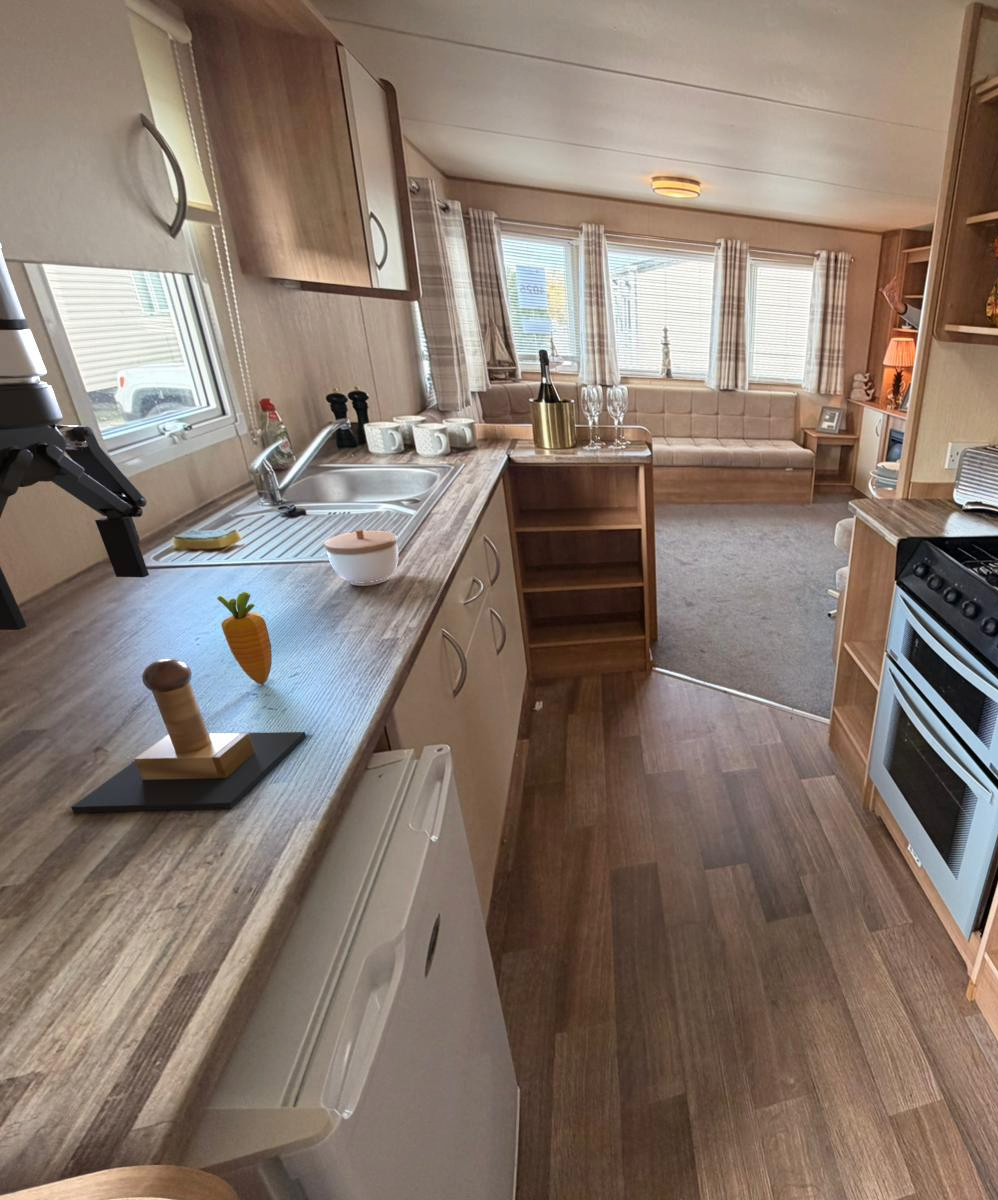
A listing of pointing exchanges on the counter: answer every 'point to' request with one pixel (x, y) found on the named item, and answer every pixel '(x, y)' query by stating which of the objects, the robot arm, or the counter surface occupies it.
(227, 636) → the carrot
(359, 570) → the lidded bowl
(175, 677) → the stamp
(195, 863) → the counter surface
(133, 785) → the mat
